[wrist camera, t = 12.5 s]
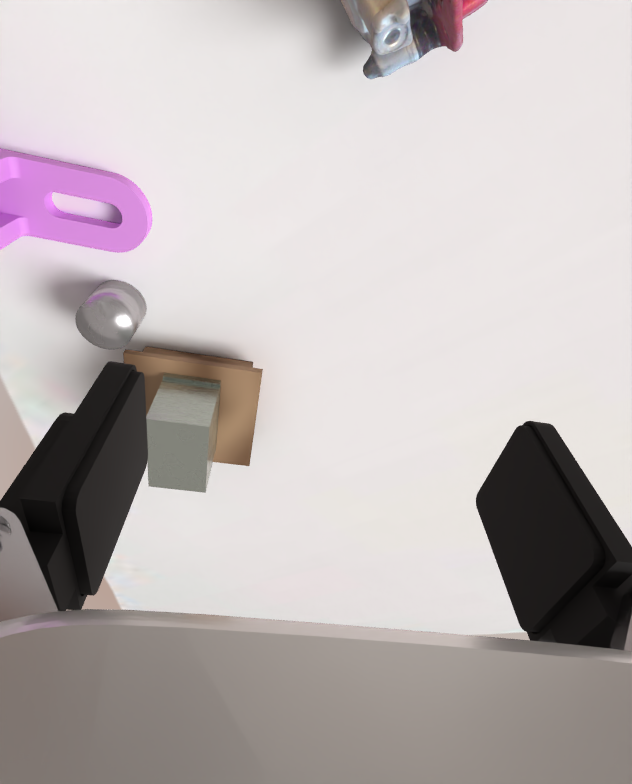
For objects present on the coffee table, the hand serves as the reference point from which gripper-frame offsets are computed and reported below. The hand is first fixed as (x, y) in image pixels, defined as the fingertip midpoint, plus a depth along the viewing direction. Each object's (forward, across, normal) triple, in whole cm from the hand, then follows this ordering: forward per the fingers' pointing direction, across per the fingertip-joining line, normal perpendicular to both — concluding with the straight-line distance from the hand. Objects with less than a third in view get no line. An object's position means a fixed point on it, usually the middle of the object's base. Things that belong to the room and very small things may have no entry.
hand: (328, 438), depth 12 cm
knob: (+28, +15, +13) cm, 35 cm away
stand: (+28, +8, +22) cm, 37 cm away
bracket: (+29, +19, +5) cm, 35 cm away
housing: (+25, +8, +22) cm, 34 cm away
